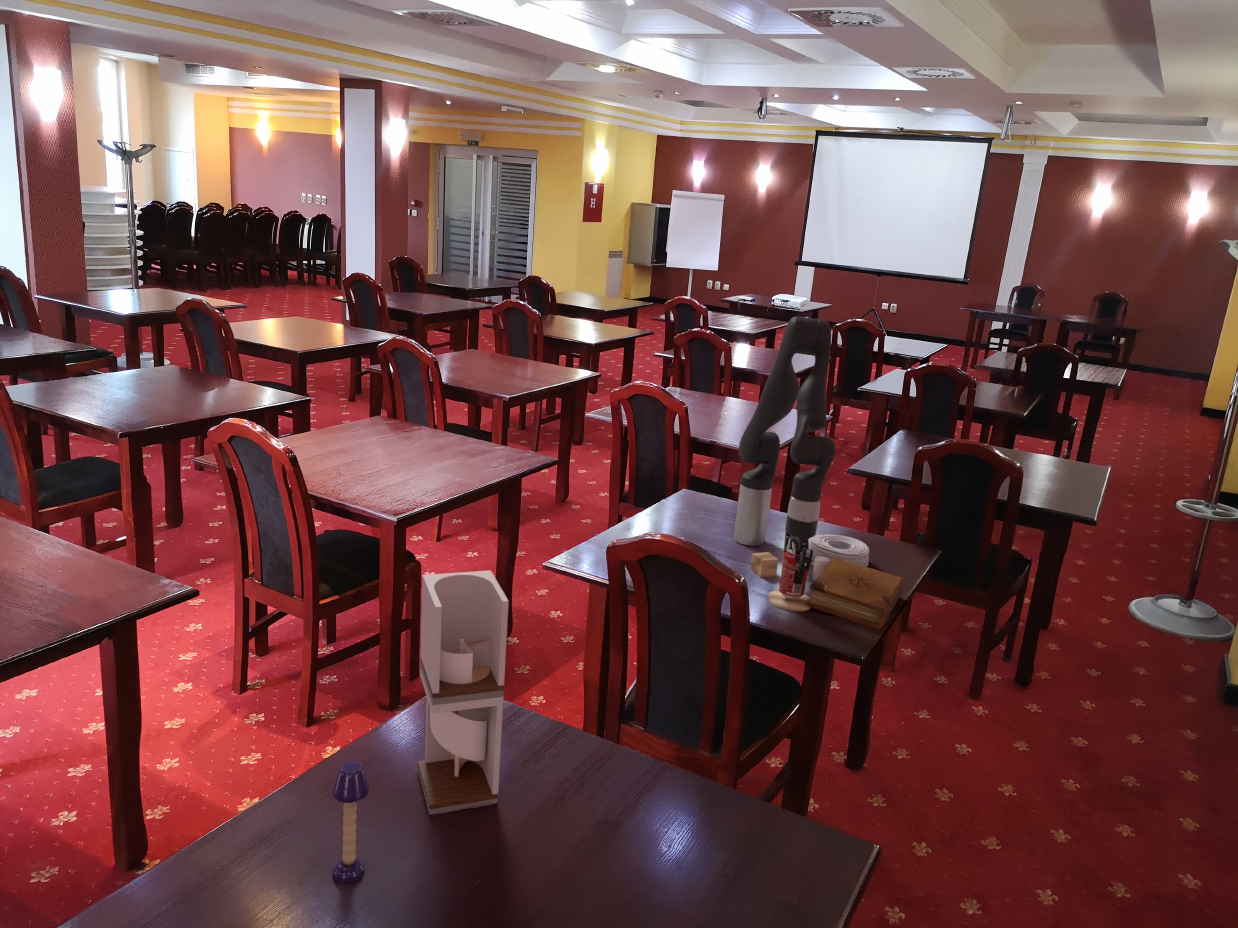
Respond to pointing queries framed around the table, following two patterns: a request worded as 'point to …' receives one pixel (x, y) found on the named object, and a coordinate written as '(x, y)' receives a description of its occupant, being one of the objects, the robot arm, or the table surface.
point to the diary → (856, 593)
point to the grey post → (819, 566)
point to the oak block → (764, 564)
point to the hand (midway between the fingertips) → (793, 578)
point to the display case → (462, 687)
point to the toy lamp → (350, 819)
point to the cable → (839, 549)
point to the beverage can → (791, 578)
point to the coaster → (788, 602)
